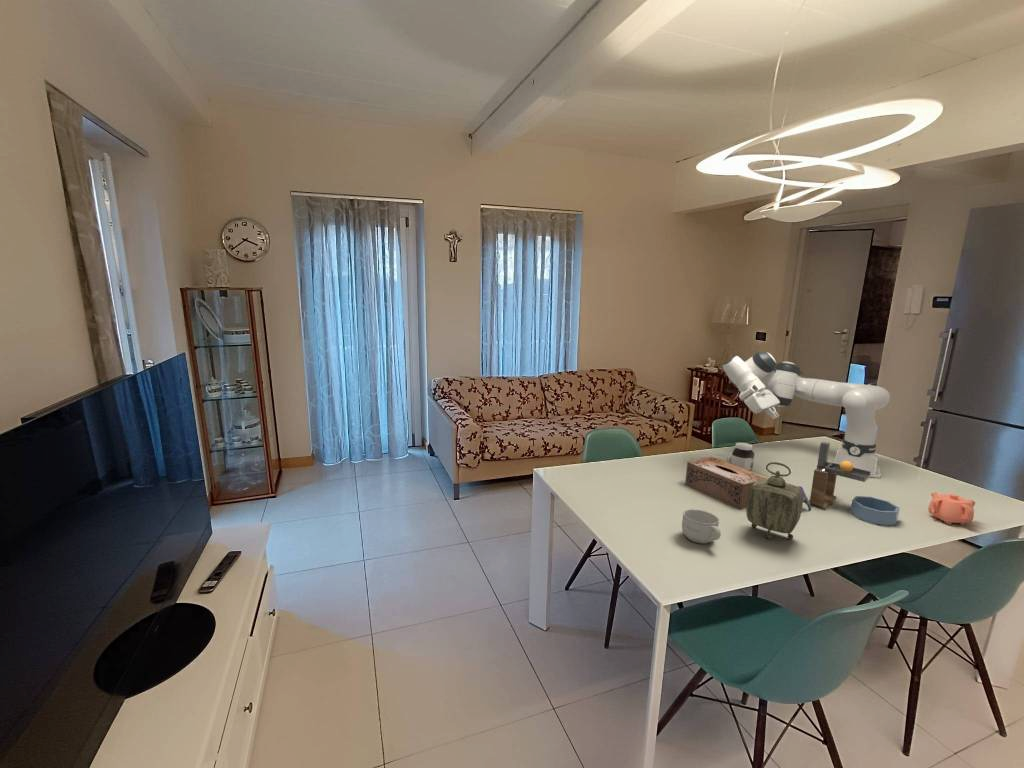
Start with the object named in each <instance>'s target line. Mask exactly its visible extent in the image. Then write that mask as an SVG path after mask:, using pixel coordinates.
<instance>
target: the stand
mask: <svg viewBox="0 0 1024 768" xmlns="http://www.w3.org/2000/svg"><path fill="white" fill-rule="evenodd" d="M830 463H832V462H831V461H827V466H828V465H829V464H830ZM837 477H838V475H834V474H830V473H828V472H825V471H821V470H817V468H815V469H814V470H813V477H812V484H811V489H810V498H809V499H808V501H809V503H810V505H811V508H812V507H813V508H817V509H819V510H821V511H826V510H827V509H828V508H829V507H830V506H831V505H832V504H833V503H834V502H835V501H836V500H837V496H836V495H835V488H836V482H837ZM805 505H806V506H807V504H806V503H805Z"/></svg>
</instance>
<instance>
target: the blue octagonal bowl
mask: <svg viewBox="0 0 1024 768" xmlns="http://www.w3.org/2000/svg"><path fill="white" fill-rule="evenodd" d="M850 505H851V506H850V513H851V514H852V515H853V516H854V517H855V518H857V519H859V520H861V521H862V522H863V521H864V522H866V523H869V524H871V525H879V526H885V527H892V526H895V525H897V522H898V520H899V514H900V509H901V508H900V507H899V506H897V505H896V504H894V503H892V502H890V501H888V500H885V499H881V498H877V497H874V496H865V495H864V496H862V495H861V496H860V495H859V496H858V495H856V496H855V497H853V499H851V504H850Z"/></svg>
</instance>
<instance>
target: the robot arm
mask: <svg viewBox="0 0 1024 768" xmlns="http://www.w3.org/2000/svg"><path fill="white" fill-rule="evenodd" d="M721 367H722V369H723V371H724V373H725V374H726V376H727V377H728V380H729V381H730V383H731V384H732V385H733V386H734V387H735V388H737V389H738V391H739V392H740V393H739V395H738V397H739V399H740V400H741V401H743V403H744V404H745V405H746V406H747V408H748V409H749V410H750V411H751V412H752V413H753V414H755V415H756V414H760V413H762V412H764V413H765V414H767V416H769V417H770V418H771V419H772V420H775V419H778V418H779V417H780V415H779V414H778V412H777V410H776V408H775V407H779V408H785V407H789V406H791V404H792V403H793V401H794V396H796V397H798V398H800V399H802V400H806V401H809V402H813V403H817V404H823V405H829V406H833V407H843V408H844V410H845V418H846V419H845V420H846V422H845V423H846V424H845V433H844V437H843V439H842V442H841V448H838V449H837V450H836V455H835V460H834V462H833V463H836V464H841V462H843V461H849V462H851V463H852V465H853V468H858V469H862V470H866V471H871V473H870V476H869V478H876V479H881V478H882V474H881V473H882V472H881V469H882V468H881V466H879V465H877V464H878V458H877V455H876V449H877V444H876V440H877V435H878V429H879V427H878V426H879V425H877V421H876V415H875V414H876V411H878V410H881V409H883V408H884V407H885V406H887V405H888V404H889V402H890V400H891V394H890V392H889V391H888V390H887V389H886V388H884V387H882V386H879V385H871V384H863V383H854V382H853V383H852V382H840V381H833V380H827V379H822V378H821V379H820V378H808V377H803V376H801V375H804V372H802V370H801V368H800V366H799V365H798V364H796V363H794V362H791V361H781V362H780V361H779V362H777V361H776V359H775V358H774V356H773V355H772V354H771V353H770V352H767V351H766V350H758V351H756V352H755V354H753V355H752V356H750V357H749V358H748V359H746V360H745V361H744V360H743V359H742V358H741V357H739V356H738V355H734V356H732V357H731V358H729V359H728V360H727V361H725V362H723V364H722V366H721Z"/></svg>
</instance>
